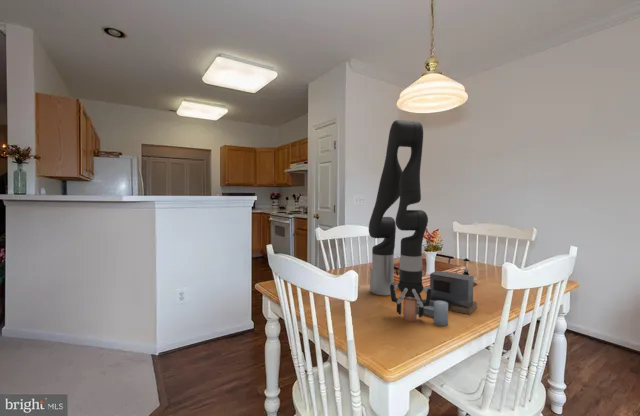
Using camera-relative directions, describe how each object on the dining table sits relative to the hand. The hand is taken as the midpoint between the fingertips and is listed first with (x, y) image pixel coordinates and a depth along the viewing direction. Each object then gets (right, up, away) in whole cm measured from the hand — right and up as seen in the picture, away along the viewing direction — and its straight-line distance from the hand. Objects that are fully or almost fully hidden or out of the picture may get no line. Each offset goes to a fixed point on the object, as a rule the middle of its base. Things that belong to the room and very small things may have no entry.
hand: (410, 315), depth 107 cm
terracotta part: (0, -1, 0) cm, 1 cm away
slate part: (+9, -1, -4) cm, 10 cm away
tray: (+9, -1, +7) cm, 11 cm away
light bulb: (+40, +1, +42) cm, 58 cm away
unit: (+20, -1, +12) cm, 23 cm away
